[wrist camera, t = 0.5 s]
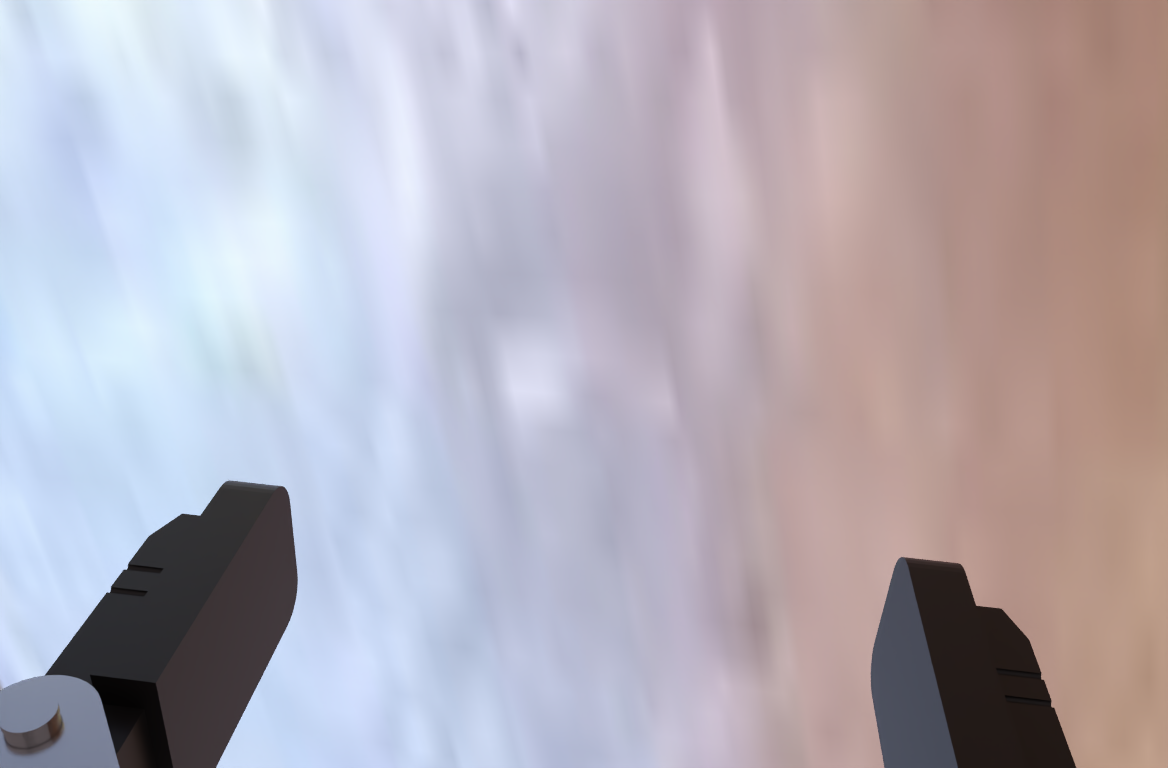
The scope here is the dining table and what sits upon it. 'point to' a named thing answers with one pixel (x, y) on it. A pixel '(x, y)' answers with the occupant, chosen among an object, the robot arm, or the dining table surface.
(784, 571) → the dining table surface
